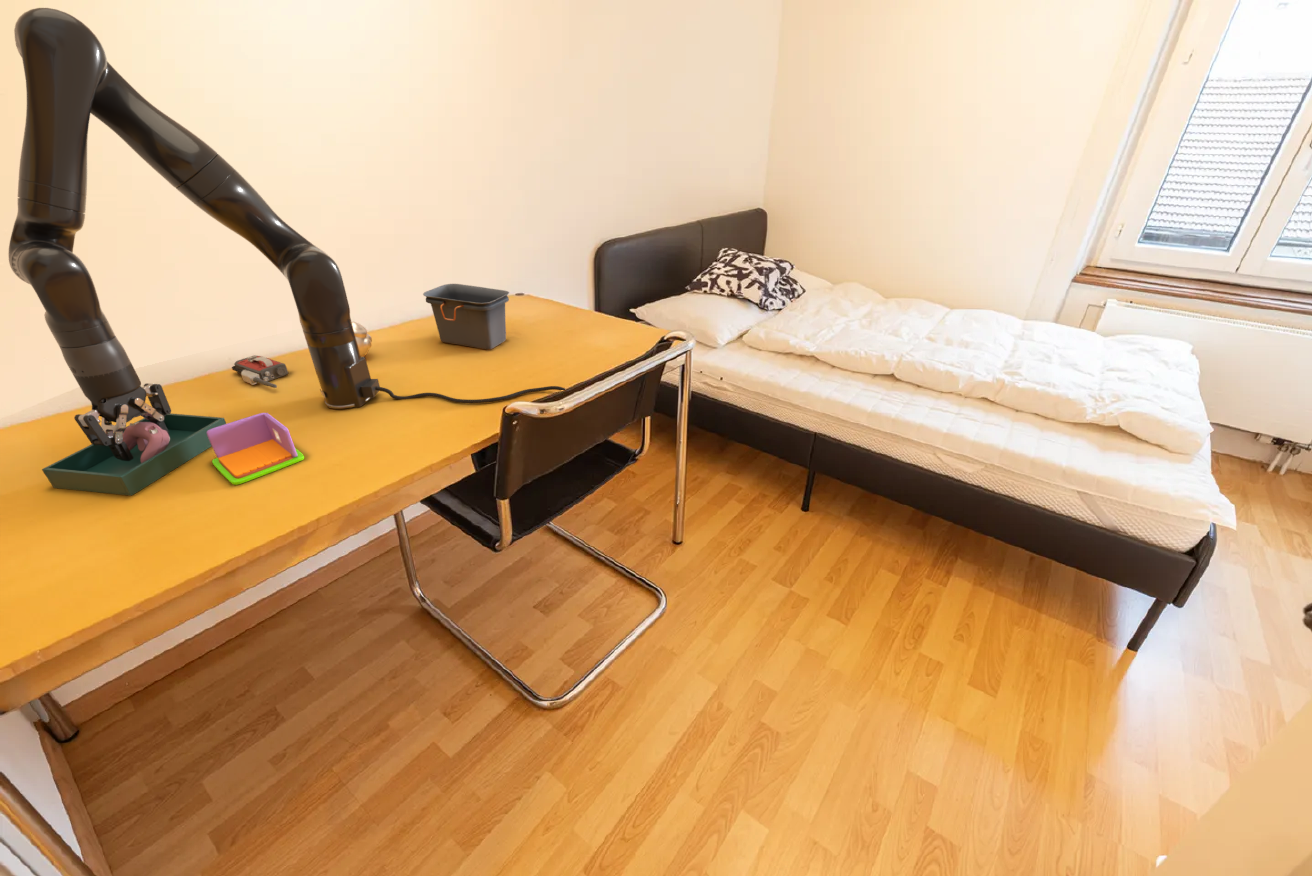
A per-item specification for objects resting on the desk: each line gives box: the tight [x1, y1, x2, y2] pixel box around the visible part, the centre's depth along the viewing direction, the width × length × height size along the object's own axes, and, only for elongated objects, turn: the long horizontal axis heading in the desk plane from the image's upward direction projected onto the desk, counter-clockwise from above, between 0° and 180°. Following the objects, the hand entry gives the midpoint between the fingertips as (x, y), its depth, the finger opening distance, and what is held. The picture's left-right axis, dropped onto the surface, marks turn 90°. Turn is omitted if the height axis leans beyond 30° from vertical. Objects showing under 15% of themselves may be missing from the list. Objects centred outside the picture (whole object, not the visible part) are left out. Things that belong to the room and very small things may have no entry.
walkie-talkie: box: [231, 354, 289, 389], centre depth 135 cm, size 9×4×20 cm
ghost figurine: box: [351, 321, 373, 357], centre depth 145 cm, size 9×10×10 cm
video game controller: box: [123, 421, 170, 463], centre depth 102 cm, size 10×5×7 cm, turn 66°
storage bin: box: [422, 283, 510, 351], centre depth 155 cm, size 21×16×14 cm
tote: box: [41, 412, 227, 497], centre depth 103 cm, size 15×21×4 cm
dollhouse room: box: [207, 412, 305, 486], centre depth 102 cm, size 12×12×7 cm
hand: (145, 449), depth 103 cm, fingers closed on video game controller, 6 cm apart
